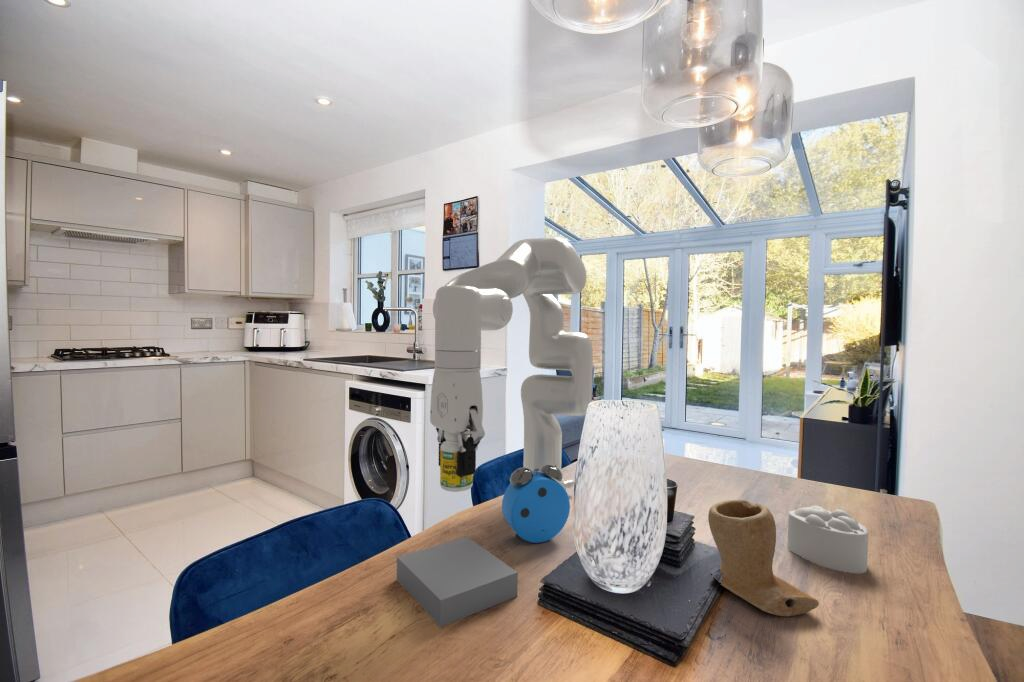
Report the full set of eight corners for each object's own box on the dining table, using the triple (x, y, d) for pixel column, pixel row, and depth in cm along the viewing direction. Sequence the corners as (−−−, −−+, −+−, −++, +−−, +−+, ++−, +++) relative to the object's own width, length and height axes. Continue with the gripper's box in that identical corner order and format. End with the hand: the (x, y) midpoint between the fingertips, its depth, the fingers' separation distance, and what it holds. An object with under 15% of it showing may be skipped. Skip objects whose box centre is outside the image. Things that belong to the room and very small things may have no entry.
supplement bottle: (475, 482, 83) (475, 426, 83) (469, 493, 78) (469, 433, 77) (444, 481, 83) (444, 425, 83) (436, 491, 78) (436, 432, 78)
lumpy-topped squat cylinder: (815, 539, 102) (816, 498, 102) (881, 568, 90) (883, 522, 90) (779, 547, 98) (781, 504, 98) (844, 578, 86) (846, 530, 86)
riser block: (466, 557, 92) (466, 536, 92) (517, 596, 79) (517, 572, 79) (396, 579, 83) (396, 556, 83) (440, 627, 71) (440, 600, 70)
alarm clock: (557, 527, 106) (558, 459, 105) (570, 539, 100) (572, 467, 99) (500, 536, 101) (501, 465, 100) (511, 549, 95) (512, 474, 95)
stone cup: (691, 578, 85) (693, 494, 85) (745, 568, 89) (748, 488, 89) (760, 630, 71) (763, 530, 70) (820, 616, 75) (824, 520, 74)
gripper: (414, 358, 84) (413, 461, 85) (464, 366, 71) (463, 489, 71) (452, 357, 89) (451, 455, 90) (506, 364, 75) (504, 480, 76)
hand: (456, 468), depth 80 cm, fingers closed on supplement bottle, 5 cm apart
